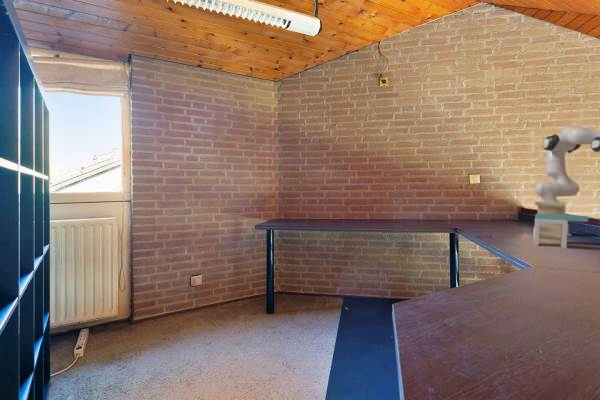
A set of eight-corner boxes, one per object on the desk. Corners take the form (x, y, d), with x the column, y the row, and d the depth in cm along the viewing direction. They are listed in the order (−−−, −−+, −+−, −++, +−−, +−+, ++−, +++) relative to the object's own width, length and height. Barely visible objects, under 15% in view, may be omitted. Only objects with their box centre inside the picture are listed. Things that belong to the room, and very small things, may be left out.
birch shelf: (533, 240, 208) (534, 201, 206) (562, 242, 199) (564, 202, 197) (533, 241, 201) (535, 202, 200) (564, 244, 192) (565, 202, 191)
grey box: (534, 243, 197) (535, 218, 196) (564, 245, 188) (566, 219, 187) (534, 245, 191) (535, 219, 190) (566, 248, 182) (567, 221, 181)
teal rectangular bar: (535, 218, 194) (535, 213, 194) (587, 221, 180) (587, 216, 180) (535, 219, 192) (535, 214, 191) (587, 221, 178) (588, 216, 177)
